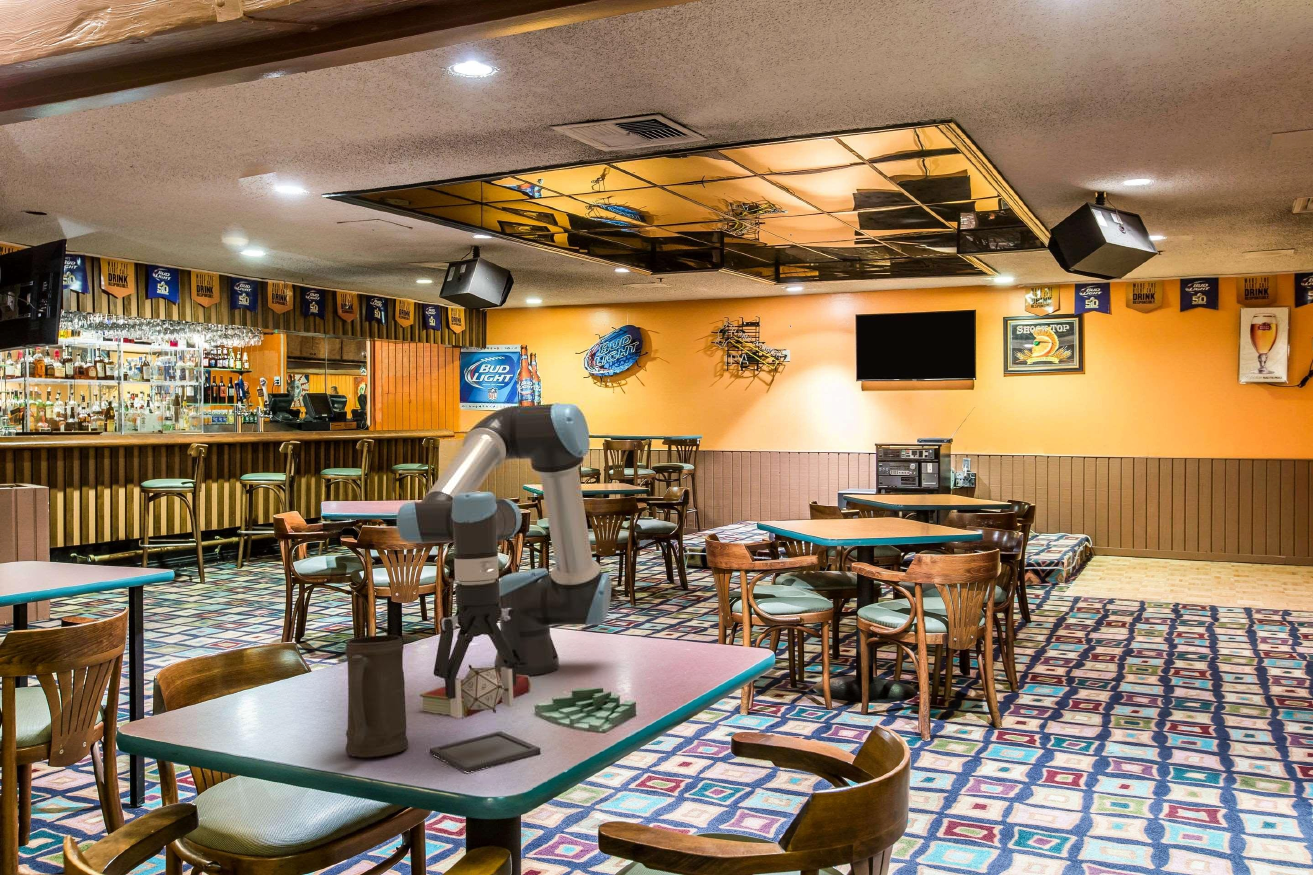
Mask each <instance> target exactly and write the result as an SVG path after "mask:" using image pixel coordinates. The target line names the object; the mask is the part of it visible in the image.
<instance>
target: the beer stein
mask: <svg viewBox="0 0 1313 875" xmlns="http://www.w3.org/2000/svg"><path fill="white" fill-rule="evenodd" d="M402 638H403V637H402V636H401V635H396V634H395V635H393V634H390V635H389V634H386V635H385V634H383V635H369V636H362V637H356V638H351V639H349V640H347V641H346V643H345V650H344V653H345V656H346V659H347V686H348V687H347V695H348V698H347V700H348V701H347V703H348V704H347V708H348V709H347V729H346V731H345V736H346V741H347V742H346V745H345V754H346V753H347V754H346V755H348V754H349V755H348V756H350V755H354V756H359V757H358V758H372V757H374V756H375V757H383V756H387V755H393V754H397V753H399V752H402V751H404V750H406V749H407V748H408V747H409V741H408V737H407V727H408V726H407V712H406V709H407V708H406V692H405V691H406V690H405V688H406V687H405V683H406V682H405V675H404V674H405V673H404V666H403V656H404V652H403V651H404V648H405V647H404V643H403V639H402ZM354 756H353V757H354Z"/></svg>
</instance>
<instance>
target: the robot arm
mask: <svg viewBox="0 0 1313 875" xmlns="http://www.w3.org/2000/svg"><path fill="white" fill-rule="evenodd" d="M589 438H590V432H589V426H588V423H587V420H586V417H585V416H584V413H583V412H582V410H581V408H579V407H578V406H577V405H575V404H572V403H559V402H555V403H549V404H548V403H547V404H533V405H531V404H530V405H513V406H512V405H510V406H507V407H503V408H501V409H497V410H496V411H494V412H492V413H490V414H489V415H486V417H484V418H483V419H481V420H479V422H477V423H476V424H475V425H473V427H472V428H471V429H469V431H468V432H467V433H466V435H465V436H464V438H463V441H462V448H461V449H460V451H458V453H457V454H456V456H454V459H452V461H451V462H450V464H449V465H448V466H447V468H446V469H445V470H444V471H443V473H442V474H441V475H440V476H439V478H438V479H437V480H436V482H435V483H434V484H433V485H432V487H430V489H429V491H428V492H427V493H426V495H425V496H424V497H423V499H422V500H421V501H412V502H407V503H403V504H402V505H401V506H400V507H399V509H398V512H397V516H396V528H397V531H398V535H399V537H400V538H401V539H402V540H403V541H404V542H405V543H416V544H417V543H419V544H425V543H426V544H429V543H453V557H454V558H453V561H454V562H453V563H454V565H453V566H454V580H455V581H456V582H458V583H456V585H455V589H454V590H455V605H456V611H455V615H452V616H450V617H441V618H439V621H438V622H439V627H440V634H439V640H438V644H437V651H436V656H435V661H434V668H433V675H434V676H435V677H438V678H440V679H444V686H445V691H446V692H445V694H446V697H447V698H449V699H450V705H451V715H450V716H451V717H453V718H456V719H462V718H463V717H462V701H461V680H462V679H460V678H457V676H458V673H459V671H460V669H461V666H462V664H463V661H464V658H465V656H466V653H467V651H468V648H469V646H470V644H471V642H473V640H474V638H475V637H479V636H482V635H485V636H488V637H489V638H490V640H491V643H492V644H493V646H494V648H495V650H496V651H497V652H496V653H495V654H496V655H495V659H494V661H493V662H494V666H493V667H495V665H496V664H498V667H497V668H496V669H497V672H498V673H501V681H502V683H503V685H504V687H505V689H506V688H508V689H509V690H508V691H504V693H503V695H502V703H501V705H504V706H507V707H509V708H510V707H514V705H515V704H514V698H513V686H514V685H516V674H517V675H526V676H529V677H530V676H537V675H544V674H548V673H551V672H553V671H556V670H558V669H559V667H560V664H559V662H560V661H559V660H560V657H559V655H558V652H557V649H556V647H555V644H554V642H553V639H552V636H551V626H560V625H561V626H566V625H567V626H571V625H573V626H575V625H576V626H577V625H578V626H580V625H584V626H589V625H600V624H602V623H604V621H605V620H606V618H607V616H608V614H609V611H610V610H609V609H610V605H611V597H612V579H611V576H610V575H609V574H608V573H605V572H604V573H602V569H601V565H600V563H599V562H597V561H596V560H594V559H593V554H592V549H591V548H592V547H591V542H590V541H591V540H590V535H589V530H588V529H589V528H588V522H587V517H586V509H585V504H584V497H583V491H582V484H581V479H580V471H579V468H580V467H581V465H582V464H583V462H584V459H585V458H584V457H585V456H587V455H588V452H589V450H590V444H591V442H590V439H589ZM517 459H518V460H522V459H523V460H524V459H529V460H530V464H531V465H530V466H531V469H532V470H533V472H535V473H537V474H538V475H539V476H540V482H541V488H542V493H543V500H544V506H545V511H546V516H547V517H546V518H547V523H548V530H549V535H550V539H551V540H550V541H551V546H552V553H553V559H554V563H555V566H554V567H553V568H552V570H551V571H550V574H549V571H548V569H547V568H545V567H542V568H541V567H540V568H531V569H526V570H521V571H515V572H513V573H508V574H506V575H504V576H502V577H501V578H500V579H499V581H498V580H497V579H498V578H499V576H500V575H499V574H500V573H499V557H498V556H499V553H498V552H499V550H498V547H499V546H498V545H499V544H498V542H500V541H505V540H507V539H510V538H511V537H513V536H514V535H515V534H517V532H518V531H519V530H520V528H521V526H522V521H523V516H522V513H521V509H520V508H519V506H518V505H517V503H515V501H512V500H510V499H507V498H496V496H495V494H494V493H493V492H492V491H491V492H490V491H478V490H479V488H480V487H481V485H482V484H483V482H484V481H485V480H486V479H487V477H488V476H489V474H490V473H491V471H492V469H494V468H497V467H499V466H500V465H501V464H502V463H503V462H504V461H509V460H517ZM498 622H499V626H500V627H499V626H498ZM456 624H457V625H458V626H459V627H460V628H459V630H458V633H457V634H456V638H457V639H456V641H455V644H454V646H453V649H452V644H453V638H454V630H455V629H456V627H457V626H456Z"/></svg>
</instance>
